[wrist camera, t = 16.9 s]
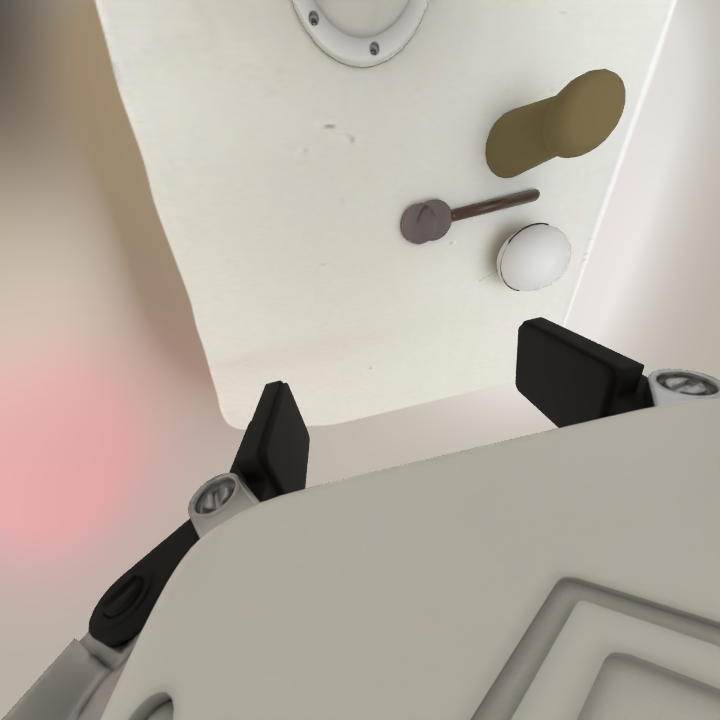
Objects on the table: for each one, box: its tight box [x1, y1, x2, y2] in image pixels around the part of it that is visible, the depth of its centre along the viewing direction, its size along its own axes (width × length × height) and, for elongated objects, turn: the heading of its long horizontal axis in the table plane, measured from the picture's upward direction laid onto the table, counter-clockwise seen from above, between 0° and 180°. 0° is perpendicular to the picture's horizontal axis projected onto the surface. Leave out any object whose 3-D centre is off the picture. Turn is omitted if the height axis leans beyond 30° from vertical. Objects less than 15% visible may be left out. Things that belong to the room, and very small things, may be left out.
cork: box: [486, 69, 625, 178], centre depth 25 cm, size 6×6×11 cm
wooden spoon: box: [401, 189, 540, 244], centre depth 32 cm, size 16×4×1 cm, turn 103°
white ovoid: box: [480, 223, 571, 291], centre depth 32 cm, size 10×7×7 cm
